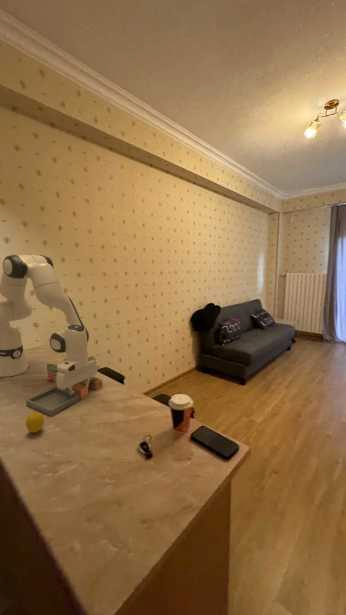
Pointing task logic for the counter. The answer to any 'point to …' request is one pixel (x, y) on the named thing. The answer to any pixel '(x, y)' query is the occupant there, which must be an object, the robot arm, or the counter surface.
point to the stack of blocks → (53, 370)
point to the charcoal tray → (52, 401)
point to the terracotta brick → (80, 390)
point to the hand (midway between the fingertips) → (79, 390)
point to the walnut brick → (95, 383)
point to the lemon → (35, 422)
